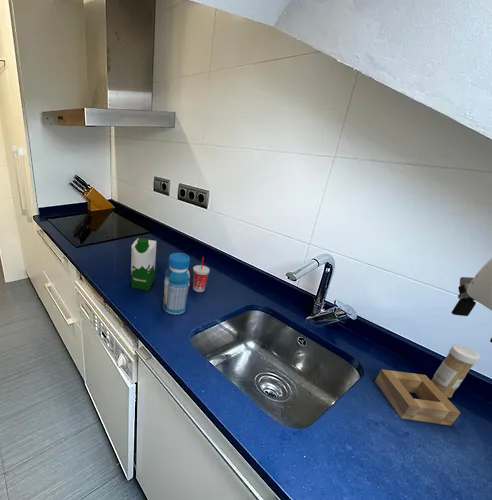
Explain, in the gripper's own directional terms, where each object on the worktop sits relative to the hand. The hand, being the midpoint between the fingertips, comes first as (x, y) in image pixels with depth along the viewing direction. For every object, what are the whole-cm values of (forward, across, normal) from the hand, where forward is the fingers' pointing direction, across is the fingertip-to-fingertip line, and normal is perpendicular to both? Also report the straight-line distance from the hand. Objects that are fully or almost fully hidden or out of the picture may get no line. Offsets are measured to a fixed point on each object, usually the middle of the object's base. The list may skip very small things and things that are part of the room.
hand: (477, 328), depth 64 cm
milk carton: (+21, +35, +80) cm, 90 cm away
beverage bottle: (+21, +22, +67) cm, 74 cm away
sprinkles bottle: (+20, 0, -1) cm, 20 cm away
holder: (+20, -5, +9) cm, 23 cm away
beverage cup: (+21, +36, +58) cm, 71 cm away
